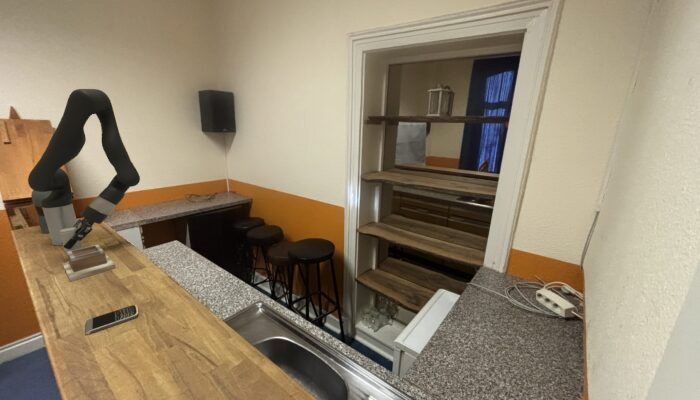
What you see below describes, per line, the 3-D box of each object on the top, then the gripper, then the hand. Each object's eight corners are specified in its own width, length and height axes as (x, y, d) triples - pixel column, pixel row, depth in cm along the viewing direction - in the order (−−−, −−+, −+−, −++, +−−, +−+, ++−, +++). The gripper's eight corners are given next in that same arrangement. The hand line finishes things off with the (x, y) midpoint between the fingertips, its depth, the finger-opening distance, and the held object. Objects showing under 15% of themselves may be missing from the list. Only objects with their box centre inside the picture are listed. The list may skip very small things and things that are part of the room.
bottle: (35, 234, 135) (17, 173, 127) (51, 228, 143) (35, 170, 136) (58, 233, 136) (42, 172, 129) (72, 226, 145) (57, 169, 138)
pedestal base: (63, 267, 103) (58, 250, 101) (105, 255, 112) (101, 240, 110) (70, 281, 93) (65, 263, 91) (115, 267, 102) (111, 251, 101)
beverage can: (75, 260, 108) (67, 231, 105) (63, 260, 108) (55, 231, 105) (87, 255, 112) (80, 227, 110) (75, 255, 113) (68, 227, 110)
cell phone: (139, 318, 76) (138, 313, 75) (84, 337, 69) (83, 333, 68) (137, 307, 80) (136, 303, 80) (85, 325, 73) (84, 320, 73)
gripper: (85, 202, 115) (51, 237, 109) (92, 207, 106) (56, 247, 100) (104, 211, 120) (73, 245, 114) (113, 217, 112) (79, 255, 106)
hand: (65, 246), depth 107 cm, fingers closed on beverage can, 4 cm apart
